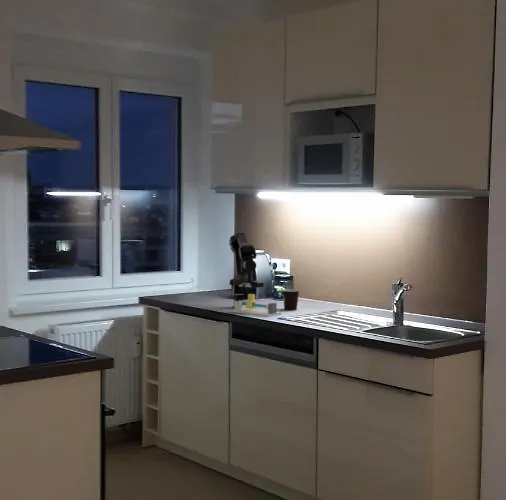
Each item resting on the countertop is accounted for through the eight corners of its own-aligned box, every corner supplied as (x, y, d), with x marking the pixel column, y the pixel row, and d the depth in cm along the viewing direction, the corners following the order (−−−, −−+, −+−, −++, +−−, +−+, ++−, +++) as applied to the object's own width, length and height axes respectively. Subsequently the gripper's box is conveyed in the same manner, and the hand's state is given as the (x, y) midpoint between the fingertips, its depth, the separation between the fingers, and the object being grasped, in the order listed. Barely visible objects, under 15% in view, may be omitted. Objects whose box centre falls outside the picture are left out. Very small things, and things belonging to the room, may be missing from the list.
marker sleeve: (246, 308, 409) (246, 294, 409) (251, 307, 412) (251, 293, 412) (251, 309, 407) (251, 295, 407) (256, 308, 410) (256, 294, 410)
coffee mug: (297, 311, 416) (297, 291, 415) (281, 310, 418) (281, 291, 417) (300, 307, 427) (300, 289, 426) (284, 307, 429) (284, 288, 428)
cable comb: (232, 311, 411) (232, 301, 410) (246, 309, 419) (247, 299, 419) (267, 316, 396) (267, 305, 395) (281, 314, 404) (281, 303, 404)
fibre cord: (238, 309, 413) (238, 299, 413) (242, 308, 416) (243, 298, 415) (271, 313, 399) (272, 303, 398) (276, 313, 402) (276, 303, 401)
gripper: (222, 269, 410) (222, 299, 412) (250, 271, 398) (249, 303, 399) (237, 267, 419) (236, 297, 420) (264, 270, 407) (264, 301, 408)
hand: (246, 299), depth 412 cm, fingers closed
